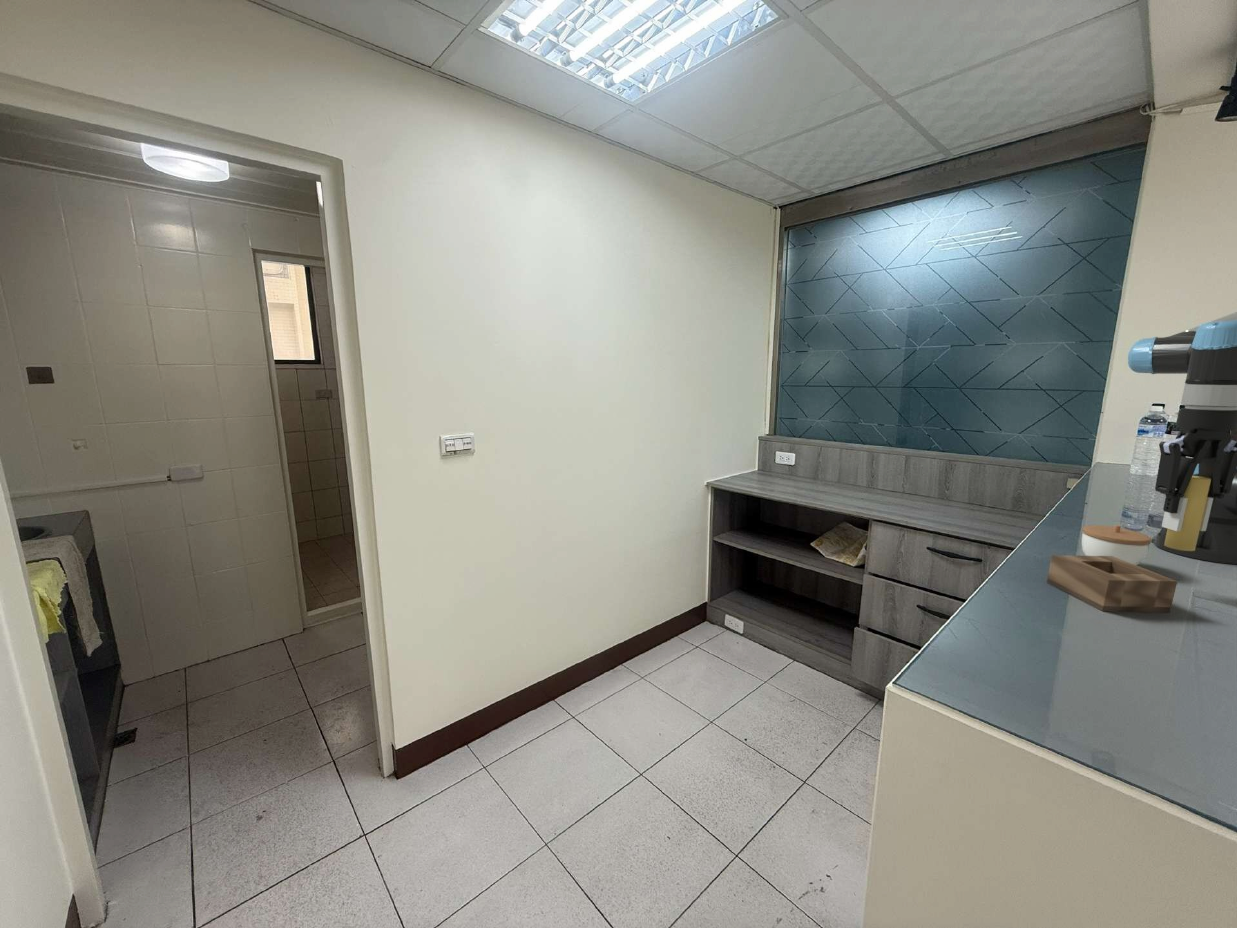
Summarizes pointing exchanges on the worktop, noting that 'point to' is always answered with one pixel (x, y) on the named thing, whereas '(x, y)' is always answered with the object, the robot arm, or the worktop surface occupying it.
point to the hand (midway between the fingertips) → (1183, 528)
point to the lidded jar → (1115, 543)
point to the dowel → (1190, 516)
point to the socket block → (1111, 583)
